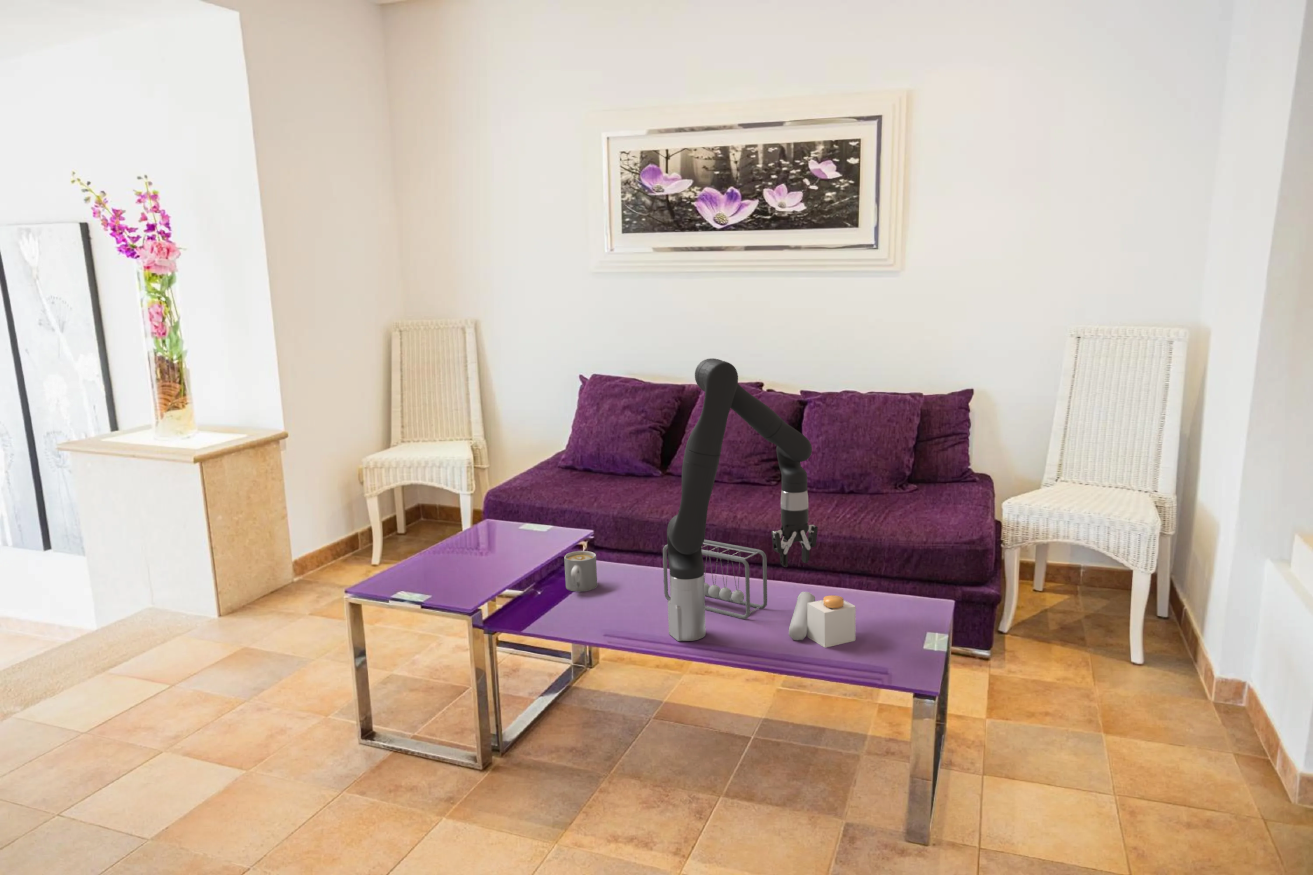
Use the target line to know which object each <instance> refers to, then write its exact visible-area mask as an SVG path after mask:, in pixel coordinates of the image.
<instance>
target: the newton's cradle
mask: <svg viewBox="0 0 1313 875" xmlns="http://www.w3.org/2000/svg"><path fill="white" fill-rule="evenodd" d="M703 545H704V546H703ZM705 546H706V549H702V556H706V558H705V562H707V559H708V557H709V559H711V558H716V561H718V559H719V560H720V561H722V560H727V562H729V561H731V566H732V567H734V563H733V562H736V563H739V564H738V565H739V566H738V572H740V571H741V570H740V567H741V565H740V564H743V565H744V571H745V574H744V575H745V595H744V591H742V590H740V587H739V585H740V584H739V582H740V577H738V582H737V581H736V580H734V583H735V584H734V585H737V586H735V590H733V591H732V590H731V589H730V588H729V587H727V584H728V583H727V582H728V577H725V578H726V579H725V578H724V577H722V580H723V582H725V584H723V587H722V588H720V586H719V585H717V584H716V582H717V576H715V579H714V578H713V577H714V576H713V574H711V575H712V576H711V577H712V580H714V581H712V585H710V584H708V583H707V582H705V581H706V577H704V592H705V597H706V598H707V597H708V598H712V599H716V600H721V601H725V602H729V603H733V604H737V605H743V606H745V614H740V613H737V612H736V613H735V612H732V611H728V610H724V609H719V608H716V607H712V606H711V607H710V606H708V605H707V606H706V605H705V611H709V612H713V613H716V614H721V615H724V616H728V617H729V616H730V617H731V618H732V617H733V618H738V619H741V620H745V619H746V620H747V619H748V618H749V617H750V615H751V613H754V612H755V611H757V610H758V609H759V610H763V609H765V608H766V607H767V606H768V568H767V567H768V566H767V564H768V563H767V562H768V560H767V559H768V558H767V555H766V553H765V552H764V551H763V550H761V549H758V548H752V547H747V546H741V545H737V544H736V545H735V544H730V543H725V542H721V541H720V542H719V541H714V540H709V539H704V542H703V544H702V548H704V547H705ZM708 546H711V547H714V548H712V549H711V550H708ZM716 548H717V549H719V548H722V549H726V550H732V551H737V552H736V553H733V554H732V555H731V554H726V553H724V552H725V550H723V551H722V552H718V551H717V552H716V551H714V550H715V549H716ZM712 550H713V551H712ZM737 553H739V555H741V553H748V554H750V555H748V556H746V557H741V556H738V555H735V554H737ZM758 554H760V555H761V557H762V594H763V596H762V598H763V599H762V600H763V601H762V604H758V603H754V602H751V598H750V597H751V594H750V592H751V590H750V588H751V587H750V586H751V585H750V565H749V564H750V563H749V562H748V561H747V559H749V558H751V557H753V556H755V555H758ZM662 562H663V563H662V565H663V566H662V567H663V570H662V571H663V589H664V590H663V592H664V593H663V594H664V597H665V599H666V600H667V602H668V601H669V600H671V597H670V594H669V587H668V585H669V584H668V582H669V581H668V546H667V544H665V545H664V546H663V548H662ZM709 564H710V566H712V562H711V560H709ZM720 566H721V568H723V565H722V562H720ZM715 567H716V568H715V572H717V568H718V564H716V565H715ZM706 568H707V565H704V574H706V572H707V569H706ZM734 570H735V569H734V568H732V572H733V573H735V571H734ZM710 572H711V573H713V570H712V567H710ZM721 572H722V575H724V572H723V569H721ZM728 572H729V565H727V569H726V574H728ZM733 576H734V579H736V576H735V574H733ZM751 608H754V609H753V610H751Z"/></svg>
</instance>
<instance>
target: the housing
mask: <svg viewBox="0 0 1313 875" xmlns="http://www.w3.org/2000/svg"><path fill="white" fill-rule="evenodd" d="M856 609H857V608H856V605H854V604H852V603H850V602H849V601H847V600H844V605H843V606H842V607H840V608H838V609H833V610H831V609H829V608H828V607H826V606H824V604H823V599H821V600H820V599H819V600H815V602H810V603H807V635H806V638H809V639H810V640H811V641H813V642H815V643H816V644H818V645H819V646H821V647H823V648H825V649H826V648H830V647H834V646H838V645H842V644H847V643H851V642H855V641H856V621H857V620H856V617H857V616H856V614H857V613H856V612H857V610H856Z"/></svg>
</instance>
